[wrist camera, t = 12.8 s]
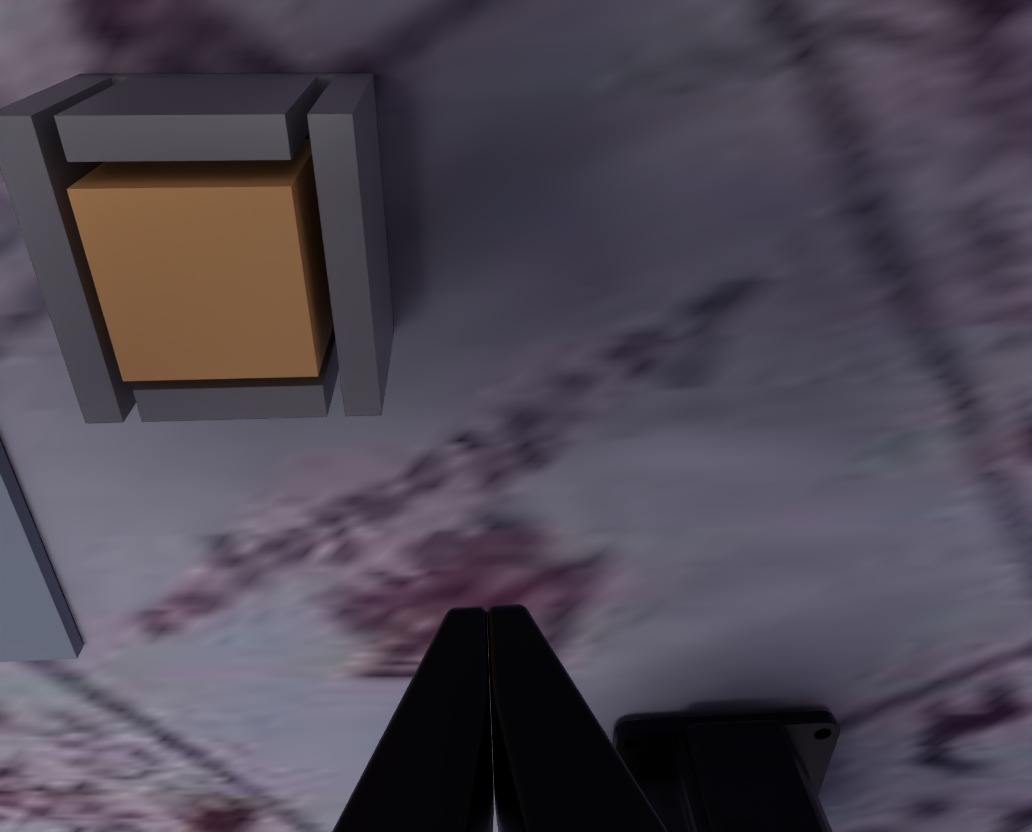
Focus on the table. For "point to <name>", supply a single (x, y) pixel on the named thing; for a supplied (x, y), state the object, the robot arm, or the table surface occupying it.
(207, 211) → the push button
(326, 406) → the button housing
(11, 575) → the grey flat square slab
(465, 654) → the robot arm
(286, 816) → the table surface
